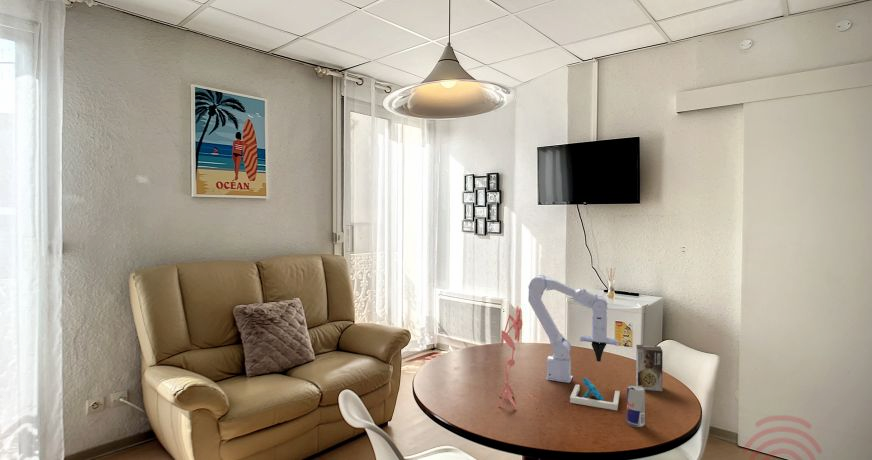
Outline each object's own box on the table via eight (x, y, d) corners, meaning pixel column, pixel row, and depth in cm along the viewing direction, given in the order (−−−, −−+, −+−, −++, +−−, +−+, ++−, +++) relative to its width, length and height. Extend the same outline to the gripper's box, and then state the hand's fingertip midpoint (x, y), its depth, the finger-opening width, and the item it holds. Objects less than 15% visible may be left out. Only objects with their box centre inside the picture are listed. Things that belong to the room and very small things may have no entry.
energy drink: (623, 420, 152) (624, 384, 151) (639, 420, 152) (639, 384, 152) (631, 428, 146) (632, 391, 146) (647, 427, 147) (648, 390, 146)
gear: (605, 402, 162) (584, 379, 166) (592, 412, 163) (572, 389, 167) (605, 395, 173) (586, 373, 176) (593, 405, 174) (574, 383, 177)
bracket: (570, 402, 166) (570, 397, 166) (575, 389, 179) (575, 384, 179) (617, 410, 159) (617, 404, 159) (619, 396, 172) (619, 391, 172)
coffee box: (660, 386, 183) (661, 346, 182) (662, 391, 176) (663, 350, 176) (635, 383, 186) (636, 343, 185) (636, 388, 179) (637, 348, 179)
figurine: (495, 416, 154) (499, 313, 153) (497, 388, 179) (500, 300, 178) (542, 421, 152) (546, 316, 150) (537, 391, 177) (540, 302, 176)
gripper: (619, 327, 185) (618, 360, 185) (582, 323, 191) (581, 355, 191) (617, 331, 178) (617, 365, 179) (579, 327, 185) (578, 360, 185)
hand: (598, 360), depth 185 cm, fingers closed
